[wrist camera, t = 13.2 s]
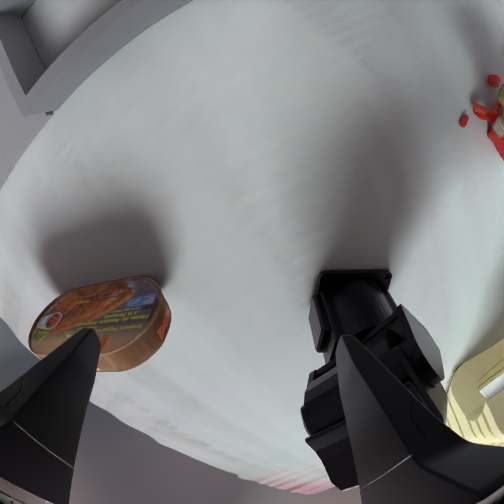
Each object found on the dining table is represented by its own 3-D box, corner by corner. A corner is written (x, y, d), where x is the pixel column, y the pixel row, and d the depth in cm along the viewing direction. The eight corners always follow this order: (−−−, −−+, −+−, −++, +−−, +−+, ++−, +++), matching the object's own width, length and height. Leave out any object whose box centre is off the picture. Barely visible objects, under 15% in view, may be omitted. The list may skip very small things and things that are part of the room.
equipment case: (197, -3, 12) (184, -26, 8) (-5, 198, 18) (-31, 215, 15) (125, -79, 6) (107, -98, 3) (-44, 113, 13) (-69, 121, 9)
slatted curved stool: (453, 341, 28) (506, 450, 12) (527, 294, 25) (585, 375, 9) (429, 420, 41) (450, 487, 26) (487, 388, 38) (513, 447, 23)
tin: (171, 267, 22) (140, 346, 15) (185, 297, 23) (163, 377, 16) (52, 292, 24) (12, 348, 16) (66, 315, 25) (33, 371, 18)
